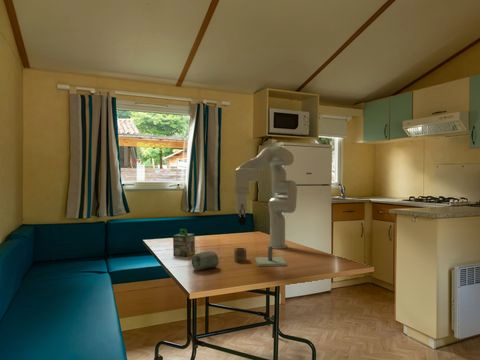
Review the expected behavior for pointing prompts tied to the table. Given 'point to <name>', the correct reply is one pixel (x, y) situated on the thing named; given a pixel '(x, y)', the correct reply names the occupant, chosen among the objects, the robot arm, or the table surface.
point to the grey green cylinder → (204, 260)
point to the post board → (270, 260)
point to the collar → (240, 254)
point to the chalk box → (184, 244)
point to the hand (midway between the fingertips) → (241, 223)
